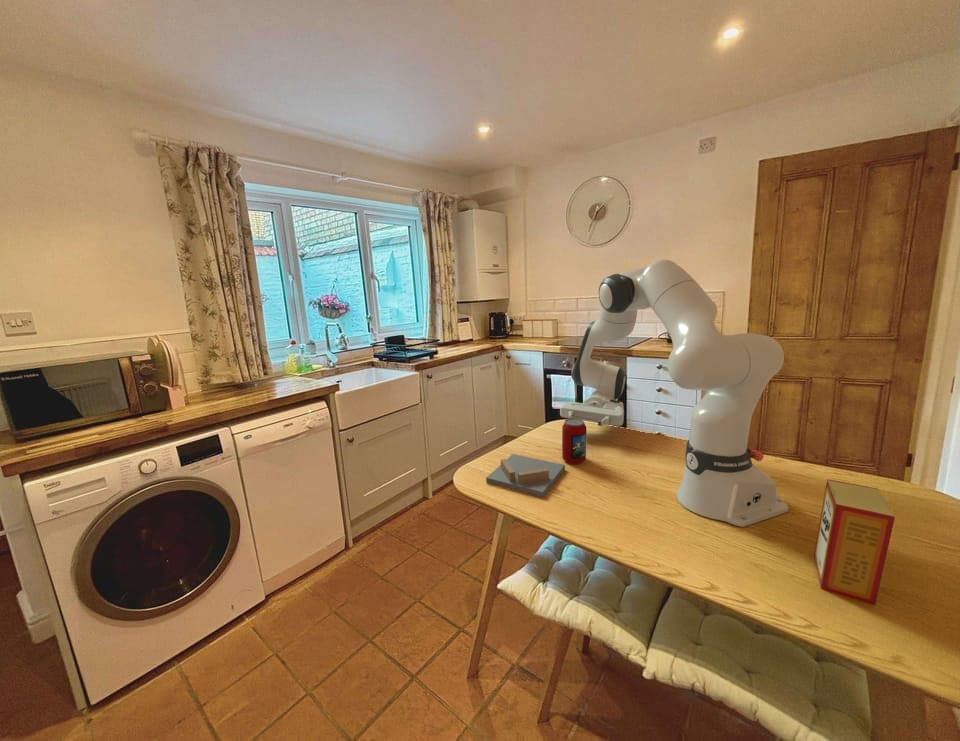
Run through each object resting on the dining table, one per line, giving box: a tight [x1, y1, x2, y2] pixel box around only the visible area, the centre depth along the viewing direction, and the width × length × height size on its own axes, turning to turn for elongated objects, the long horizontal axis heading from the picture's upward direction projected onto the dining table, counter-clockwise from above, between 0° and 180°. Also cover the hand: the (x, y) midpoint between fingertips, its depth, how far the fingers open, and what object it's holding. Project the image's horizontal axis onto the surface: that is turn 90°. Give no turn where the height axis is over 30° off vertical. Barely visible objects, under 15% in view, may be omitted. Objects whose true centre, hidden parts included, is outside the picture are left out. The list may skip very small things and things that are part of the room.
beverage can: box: [561, 418, 587, 465], centre depth 113 cm, size 7×7×12 cm
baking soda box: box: [813, 478, 896, 606], centre depth 66 cm, size 10×6×16 cm
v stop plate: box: [485, 453, 566, 499], centre depth 106 cm, size 16×16×4 cm
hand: (584, 421), depth 122 cm, fingers open, 8 cm apart
